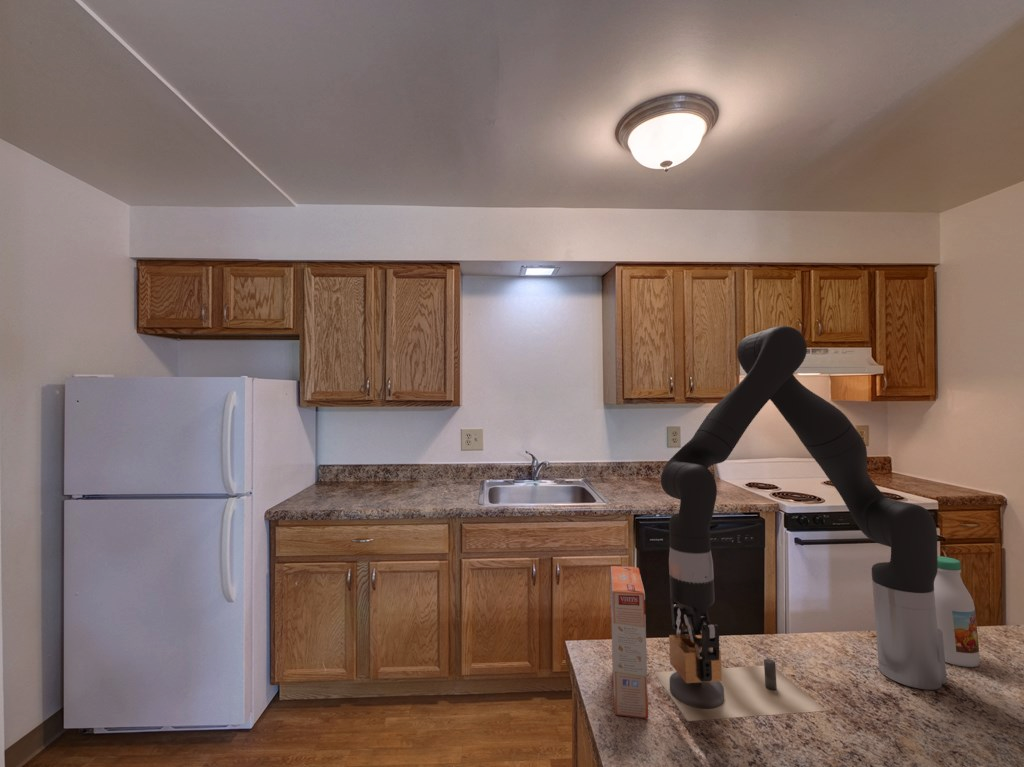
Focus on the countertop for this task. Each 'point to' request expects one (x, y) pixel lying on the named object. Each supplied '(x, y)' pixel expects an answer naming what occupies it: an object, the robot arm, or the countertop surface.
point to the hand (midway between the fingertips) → (695, 668)
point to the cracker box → (629, 642)
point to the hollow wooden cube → (689, 659)
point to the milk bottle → (955, 615)
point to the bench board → (738, 694)
